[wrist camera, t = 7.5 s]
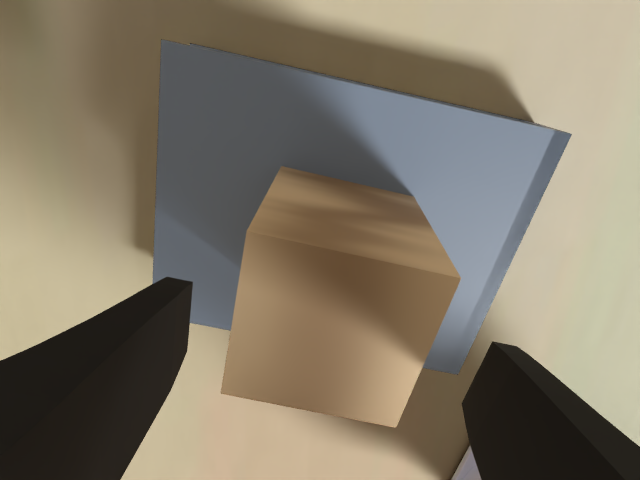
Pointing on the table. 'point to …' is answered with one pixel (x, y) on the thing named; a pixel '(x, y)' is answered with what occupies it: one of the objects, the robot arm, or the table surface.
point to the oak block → (336, 299)
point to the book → (336, 173)
